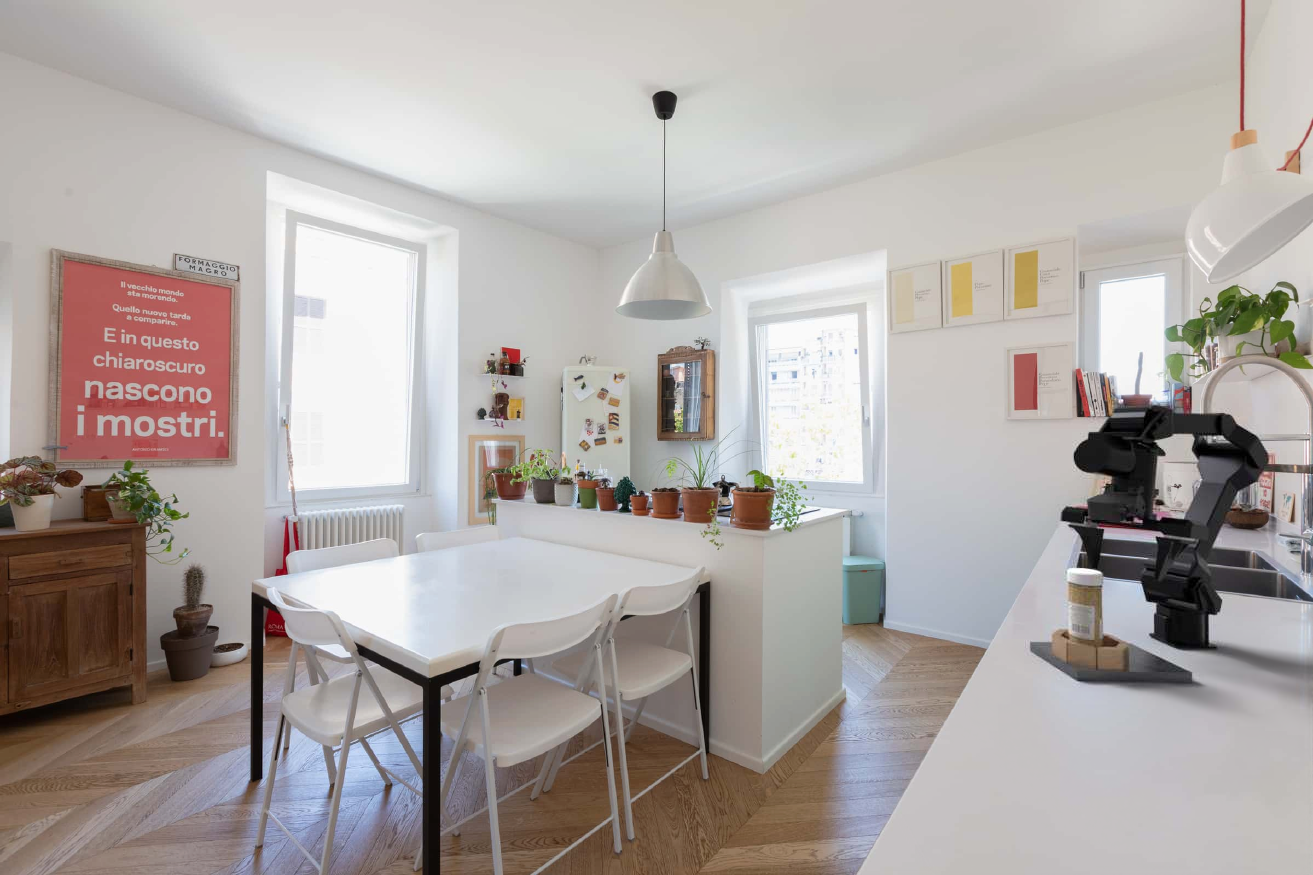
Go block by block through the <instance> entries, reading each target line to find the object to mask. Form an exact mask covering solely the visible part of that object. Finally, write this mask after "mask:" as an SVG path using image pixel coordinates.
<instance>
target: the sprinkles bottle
mask: <svg viewBox="0 0 1313 875" xmlns="http://www.w3.org/2000/svg"><path fill="white" fill-rule="evenodd" d="M1066 581H1067V584H1068V599H1067V604H1068V605H1067V607H1068V608H1067V612H1068V613H1067V614H1068V620H1067V622H1068V623H1067V624H1068V628H1067V629H1069V640H1070V641H1071V642H1075V643H1080V644H1085V645H1089V646H1094V647H1103V634H1104V618H1103V589H1102V588H1103V585H1104V573H1103V572H1101V571H1100V570H1096V569H1093V568H1091V569H1090V568H1081V567H1073V568H1072V567H1071V568H1068V569H1067V571H1066Z"/></svg>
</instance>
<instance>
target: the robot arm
mask: <svg viewBox="0 0 1313 875" xmlns="http://www.w3.org/2000/svg"><path fill="white" fill-rule="evenodd" d="M1174 435H1192V437H1193V438H1194V440H1193V443H1192V446H1191V452H1192V453H1193V455H1194V457H1195V458H1196V459H1197V464H1196V468H1197V469H1198V472H1199V475H1200V477H1201V482H1200V484H1199V485H1198V487H1197V490H1196V492H1195V494H1194V496H1193V498H1192V500H1191V502H1190V505H1189V507H1188V508H1187V510H1186V512H1185V515H1184V517H1183V518H1178V517H1177V518H1176V517H1166V516H1162V517H1161V518H1160V519H1159V520H1158V519H1157V518H1158V514H1157V513H1154V504H1155V496H1159V494H1160V489H1158V488H1156V479H1157V468H1158V457H1166V455H1167V453H1166V452H1165V450H1164V449H1163V448H1162V447H1160V446H1159V445H1158V443H1157V441H1159V440H1165V439H1168V438H1172V437H1173V436H1174ZM1206 436H1207V437H1211V436H1213V437H1220V436H1221V437H1223V438H1224V439H1225V440H1226V442H1225V441H1224V442H1219V441H1218V442H1217V441H1215V442H1208V441H1207V440H1206V438H1205V437H1206ZM1072 455H1073V456H1072V457H1073V462H1074V465H1075V466H1076V467H1077V468H1078V469H1079V470H1080V471H1081V472H1084V473H1088V474H1093V475H1099V476H1106V477H1110V478H1111V479H1110V483H1106V484H1105V486H1104V491H1103V493H1101V494H1100V493H1099V494H1096V495H1095V496H1092V497H1089V498H1087V499H1086V505H1087V508H1084V507H1077V506H1065V507H1064V508H1063V509H1062V510H1061V512H1060V522H1063V523H1064V522H1065V523H1068V524H1067V527H1068V528H1072V529H1074V531H1075V532H1076V533H1077V534H1078V535H1079V538H1080V539H1081V542H1082V544H1083V546H1084V550H1085V553H1086V556H1087V560H1088V563H1089V566H1090V568H1091V569H1092V570H1096V569H1098V566H1099V563H1100V559H1101V553H1102V547H1103V540H1104V534H1105V528H1100V527H1099V526H1101V525H1109V526H1116V527H1125V528H1133V529H1138V530H1139V529H1140V530H1146V531H1153V532H1155V531H1157V532H1160V533H1161V534H1162V535H1163V536H1157V535H1156V536H1155V537H1154V538H1155V540H1156V544H1157V545H1156V546H1157V548H1156V547H1155V548H1153V549H1152V550H1151V551H1150V552H1149V555H1148V558H1147V560H1146V562H1145V563H1144V564H1143V565H1142V568H1143V570H1141V574H1140V583H1141V586H1142V591H1143V594H1144V598H1145V602H1147V603H1154V604H1155V612H1154V614H1153V632H1149V634H1148V636H1149V637H1151V638H1153V639H1155V640H1157V641H1161V642H1162V643H1164V644H1167V645H1168V646H1172V647H1174V648H1176V649H1193V650H1194V649H1196V650H1197V649H1199V650H1200V649H1201V650H1202V649H1203V650H1204V649H1205V650H1217V649H1218V645H1216V644H1214V643H1211V642H1210V616H1217V615H1218V613H1221V609H1222V605H1223V599H1222V598H1221V597H1220V595H1219V593H1217V591H1216V590H1215V588H1214V587H1213V585H1211V583H1212V579H1213V576H1212V574H1211V570H1210V568H1209V566H1208V562H1207V560H1208V557H1209V555H1210V554H1211V551H1212V549H1213V547H1214V544H1215V542H1216V540H1217V538H1218V536H1219V533H1220V531H1221V529H1222V527H1223V525H1224V523H1225V521H1226V518H1227V517H1228V514H1229V512H1230V510H1231V508H1232V505H1233V503H1234V501H1235V499H1236V498H1237V496H1238V493H1239V492H1240V491H1242V490H1244V489H1247V487H1249V486H1251V485H1253V484H1255V483H1256V482H1257V481H1258V480H1259V478H1260V477H1261V475H1262V474H1263V472H1264V471H1265V469H1266V468H1267V467H1268V465H1269V463H1270V462H1269V461H1270V458H1269V453H1268V451H1267V450H1266V448H1265V446H1264V444H1263V443H1262V442H1261V439H1260V438H1259V437H1258V436H1257V435H1256V434H1254V433H1252V432H1251V431H1249V430H1248V429H1246V428H1245V427H1242V426H1241V425H1239V424H1238V423H1237V421H1236V420H1235V419H1234V417H1233V415H1232V414H1229V413H1225V412H1205V413H1201V412H1200V413H1198V412H1197V413H1196V412H1195V413H1194V412H1176V411H1174V410H1173V408H1170V407H1167V406H1164V405H1160V404H1151V405H1150V404H1149V405H1128V406H1117V407H1115V408H1113V412H1112V413H1111V414H1110V415H1109V416H1108V417H1107V419H1106V420H1105V422H1104V423H1103V424H1102V426H1101V427H1100V428H1099V429H1098V431H1089V432H1087V438H1086V439H1085V440H1083V441H1081V442H1080V443H1079V444H1078V446H1077V447H1076V448H1075V451H1074V452H1073V454H1072ZM1135 519H1137V520H1138V521H1142V522H1138V521H1135ZM1069 523H1070V524H1069Z"/></svg>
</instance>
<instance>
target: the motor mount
mask: <svg viewBox="0 0 1313 875" xmlns="http://www.w3.org/2000/svg"><path fill="white" fill-rule="evenodd" d="M1029 651H1030V652H1031V653H1033V654H1034V655H1036V656H1037V657H1039V658H1041V659H1043V661H1046V662H1047V663H1048V662H1049V665H1052V666H1053V667H1055V668H1057V669H1058V670H1059V671H1061V672H1063V673H1064V674H1065V675H1068V676H1069V677H1070V678H1072V679H1073V680H1075V681H1076V682H1077V681H1079V682H1084V681H1085V682H1122V683H1123V682H1126V683H1127V682H1128V683H1131V682H1132V683H1171V684H1172V683H1173V684H1175V683H1176V684H1177V683H1178V684H1179V683H1180V684H1184V683H1185V684H1192V683H1193V672H1192V671H1190V670H1187V669H1185V668H1183V667H1181V666H1179V665H1177V664H1175V663H1172V662H1171V661H1169V660H1166V659H1164V658H1163V657H1160V656H1158V655H1156V654H1154V653H1153V652H1152V653H1151V652H1149V651H1148V650H1145V649H1143V648H1141V647H1139V646H1137V645H1135V644H1133V643H1129V642H1126V641H1125V640H1122V639H1121V638H1118V637H1116V636H1115V635H1111V634H1107V633H1103V647H1094V646H1089V645H1085V644H1080V643H1075V642H1071V641H1070V640H1069V629H1068V628H1066V629H1065V628H1059V629H1057V630H1056V631H1054V632H1053V633H1052V634H1051V641H1030V642H1029Z"/></svg>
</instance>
